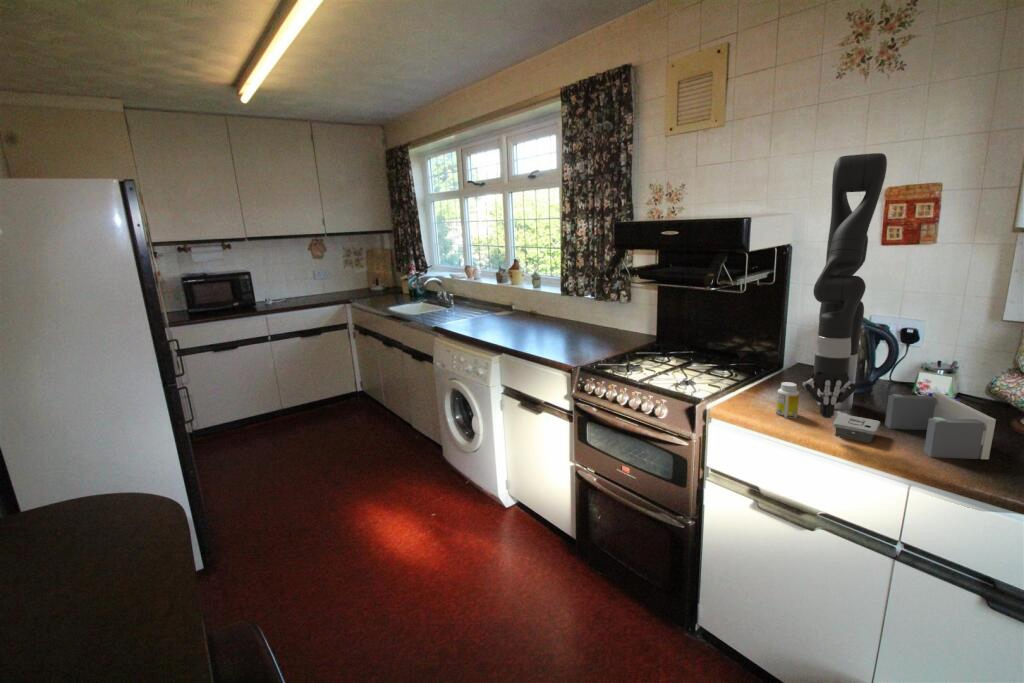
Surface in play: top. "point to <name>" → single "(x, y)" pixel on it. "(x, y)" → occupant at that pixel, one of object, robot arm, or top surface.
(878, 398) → the top surface
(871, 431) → the electrical switch
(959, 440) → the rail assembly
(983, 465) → the top surface
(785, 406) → the supplement bottle
